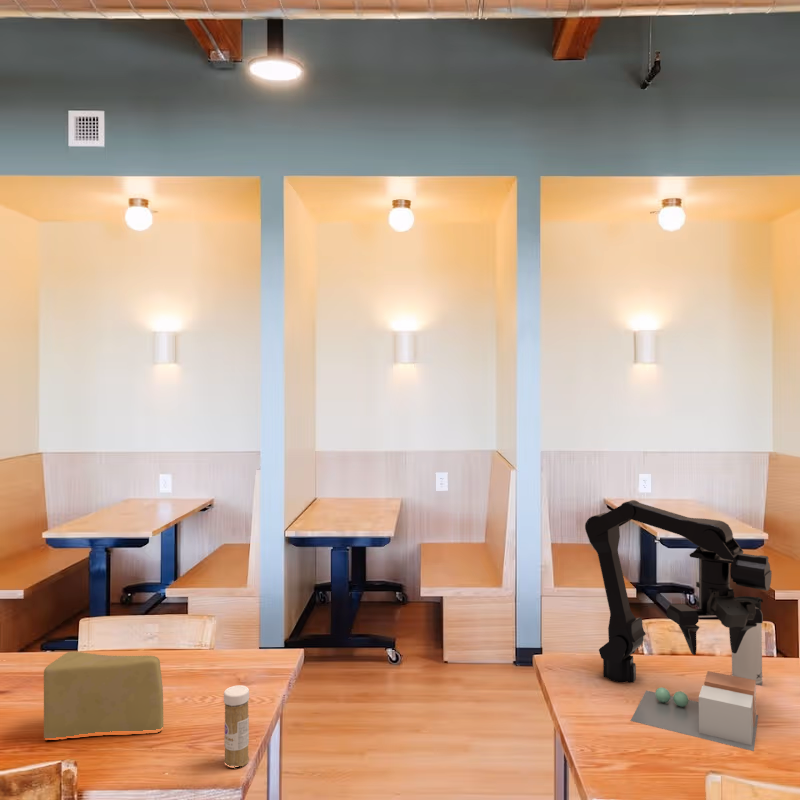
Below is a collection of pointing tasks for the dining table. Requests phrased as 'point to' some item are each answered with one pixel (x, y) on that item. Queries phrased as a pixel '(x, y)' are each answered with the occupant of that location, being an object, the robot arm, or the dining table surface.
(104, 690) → the cheese
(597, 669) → the dining table surface
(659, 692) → the marble
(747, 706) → the light grey rectangular block
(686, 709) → the slate board
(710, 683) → the tan block
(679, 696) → the marble
